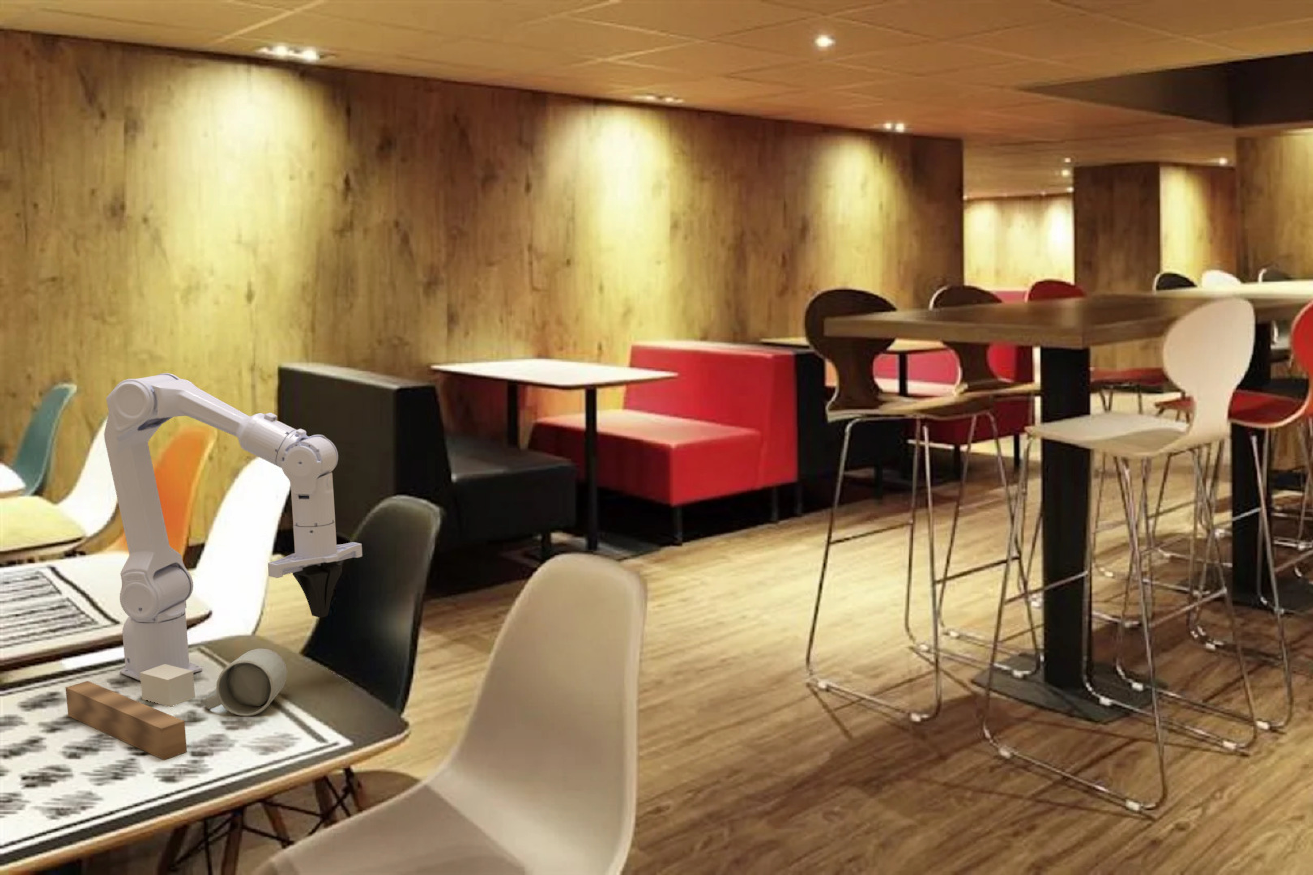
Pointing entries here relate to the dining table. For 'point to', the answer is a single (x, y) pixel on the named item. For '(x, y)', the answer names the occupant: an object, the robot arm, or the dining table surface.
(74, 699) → the walnut rail
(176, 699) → the beige rectangular block
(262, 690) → the ceramic mug
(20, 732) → the dining table surface
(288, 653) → the dining table surface
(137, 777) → the dining table surface
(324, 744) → the dining table surface
